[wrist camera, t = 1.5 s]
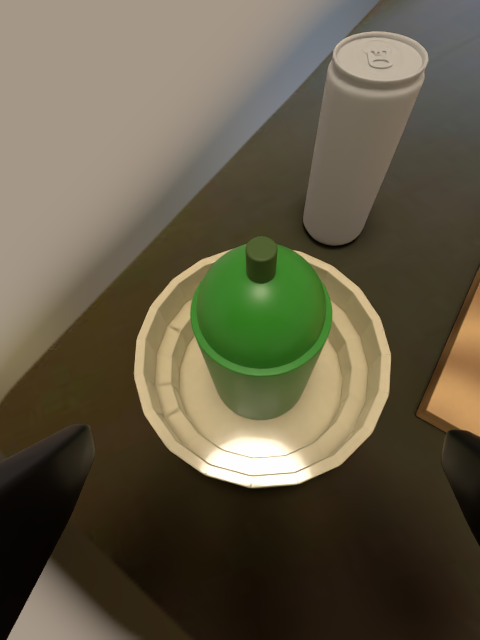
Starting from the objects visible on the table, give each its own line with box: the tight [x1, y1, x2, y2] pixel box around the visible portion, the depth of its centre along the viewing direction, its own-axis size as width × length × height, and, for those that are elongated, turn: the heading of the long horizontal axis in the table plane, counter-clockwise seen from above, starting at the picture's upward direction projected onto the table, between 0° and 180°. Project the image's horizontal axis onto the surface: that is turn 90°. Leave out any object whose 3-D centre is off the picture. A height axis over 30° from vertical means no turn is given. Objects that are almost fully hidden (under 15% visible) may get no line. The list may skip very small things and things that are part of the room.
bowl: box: [134, 249, 391, 489], centre depth 20 cm, size 13×13×5 cm
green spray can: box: [190, 236, 332, 420], centre depth 16 cm, size 6×6×12 cm
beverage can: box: [303, 32, 428, 246], centre depth 22 cm, size 5×5×12 cm
